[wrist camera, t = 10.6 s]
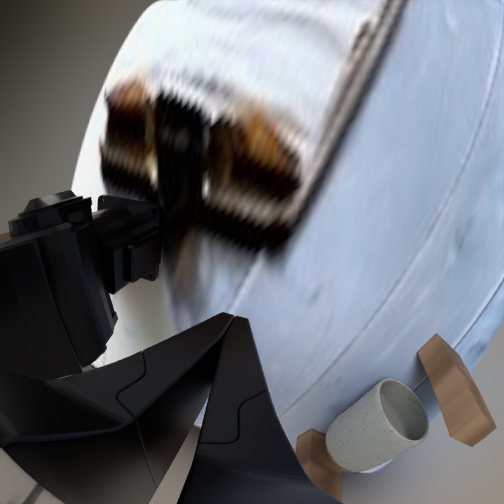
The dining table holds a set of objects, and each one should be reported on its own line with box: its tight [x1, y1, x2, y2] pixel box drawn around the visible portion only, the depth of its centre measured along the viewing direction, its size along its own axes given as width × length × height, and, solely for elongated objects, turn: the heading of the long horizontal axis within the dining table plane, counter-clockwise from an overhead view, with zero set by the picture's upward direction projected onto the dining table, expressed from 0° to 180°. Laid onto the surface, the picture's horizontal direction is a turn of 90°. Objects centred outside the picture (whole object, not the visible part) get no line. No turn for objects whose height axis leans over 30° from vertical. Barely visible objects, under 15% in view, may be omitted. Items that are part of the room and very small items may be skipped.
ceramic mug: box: [325, 378, 429, 472], centre depth 20 cm, size 11×8×8 cm
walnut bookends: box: [296, 333, 497, 502], centre depth 19 cm, size 5×20×10 cm, turn 145°
